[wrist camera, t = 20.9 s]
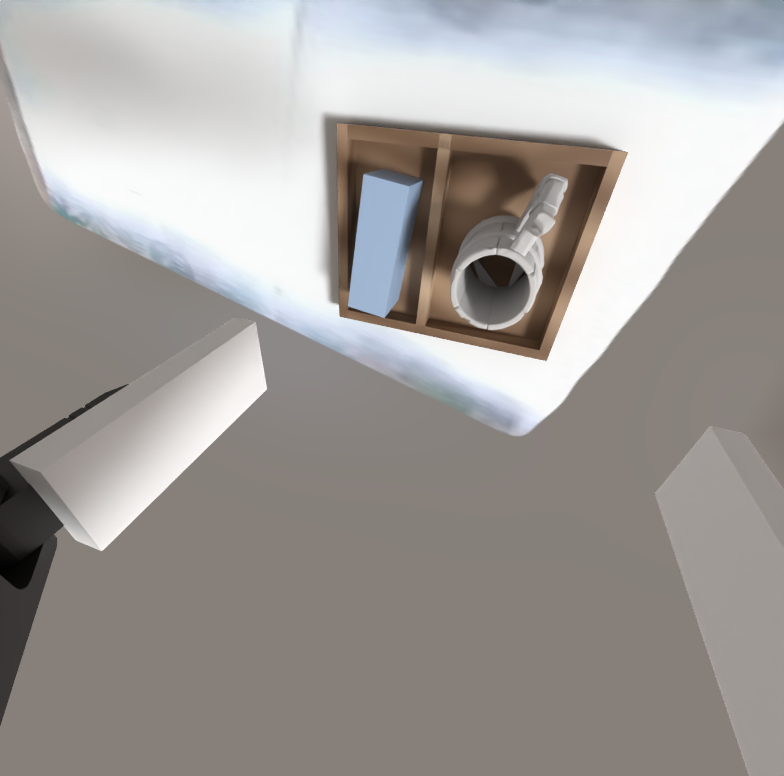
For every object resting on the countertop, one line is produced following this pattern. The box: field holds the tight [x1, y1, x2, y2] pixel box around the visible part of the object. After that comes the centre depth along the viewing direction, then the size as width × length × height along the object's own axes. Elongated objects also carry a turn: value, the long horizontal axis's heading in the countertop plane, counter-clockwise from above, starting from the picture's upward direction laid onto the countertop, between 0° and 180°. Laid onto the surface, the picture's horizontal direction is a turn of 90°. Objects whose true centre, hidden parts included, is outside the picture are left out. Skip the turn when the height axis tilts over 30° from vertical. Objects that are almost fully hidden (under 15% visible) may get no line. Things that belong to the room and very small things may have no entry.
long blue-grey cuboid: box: [348, 169, 424, 318], centre depth 35 cm, size 12×4×5 cm, turn 169°
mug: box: [450, 173, 568, 330], centre depth 29 cm, size 8×12×12 cm, turn 156°
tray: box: [337, 123, 628, 361], centre depth 35 cm, size 18×23×2 cm
